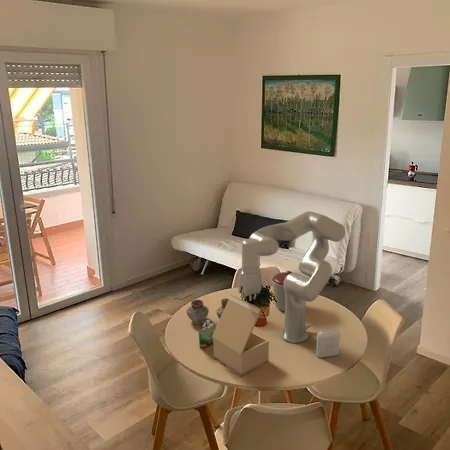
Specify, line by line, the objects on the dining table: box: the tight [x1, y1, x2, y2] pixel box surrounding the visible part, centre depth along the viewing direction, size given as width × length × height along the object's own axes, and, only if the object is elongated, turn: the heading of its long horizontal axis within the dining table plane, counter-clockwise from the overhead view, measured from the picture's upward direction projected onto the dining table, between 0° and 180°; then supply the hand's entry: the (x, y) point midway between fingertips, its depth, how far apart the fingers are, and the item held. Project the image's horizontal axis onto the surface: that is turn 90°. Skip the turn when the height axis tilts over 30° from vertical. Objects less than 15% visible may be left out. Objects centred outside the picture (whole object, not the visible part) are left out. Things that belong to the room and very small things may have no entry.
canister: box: [271, 270, 301, 312], centre depth 247 cm, size 18×18×21 cm
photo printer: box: [315, 328, 341, 358], centre depth 205 cm, size 10×4×12 cm, turn 103°
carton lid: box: [212, 294, 263, 354], centre depth 197 cm, size 20×18×1 cm
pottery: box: [186, 298, 229, 325], centre depth 235 cm, size 11×25×12 cm, turn 87°
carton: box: [212, 331, 270, 377], centre depth 203 cm, size 16×18×10 cm
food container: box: [198, 317, 216, 349], centre depth 216 cm, size 12×6×10 cm, turn 168°
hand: (250, 307), depth 201 cm, fingers closed
